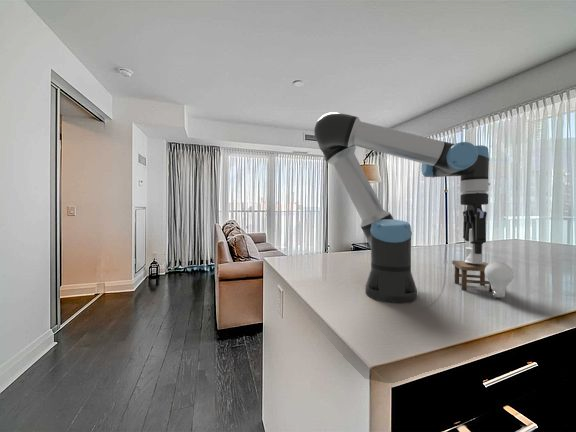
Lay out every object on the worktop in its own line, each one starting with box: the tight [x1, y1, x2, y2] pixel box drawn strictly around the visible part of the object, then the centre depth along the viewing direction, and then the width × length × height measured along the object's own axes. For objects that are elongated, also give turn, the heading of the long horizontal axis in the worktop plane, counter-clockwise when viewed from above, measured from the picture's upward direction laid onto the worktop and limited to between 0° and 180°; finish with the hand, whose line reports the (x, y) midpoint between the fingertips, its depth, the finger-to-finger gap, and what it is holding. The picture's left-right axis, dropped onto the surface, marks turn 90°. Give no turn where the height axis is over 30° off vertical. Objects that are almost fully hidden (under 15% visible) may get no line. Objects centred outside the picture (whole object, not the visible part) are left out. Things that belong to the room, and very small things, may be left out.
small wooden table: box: [451, 260, 493, 294], centre depth 84 cm, size 10×10×8 cm
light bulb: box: [484, 261, 515, 300], centre depth 73 cm, size 7×7×11 cm
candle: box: [463, 229, 484, 264], centre depth 84 cm, size 5×5×12 cm
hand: (473, 261), depth 84 cm, fingers closed on candle, 5 cm apart
